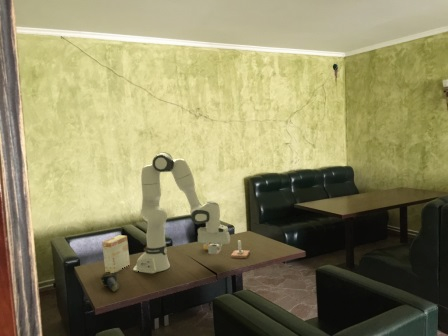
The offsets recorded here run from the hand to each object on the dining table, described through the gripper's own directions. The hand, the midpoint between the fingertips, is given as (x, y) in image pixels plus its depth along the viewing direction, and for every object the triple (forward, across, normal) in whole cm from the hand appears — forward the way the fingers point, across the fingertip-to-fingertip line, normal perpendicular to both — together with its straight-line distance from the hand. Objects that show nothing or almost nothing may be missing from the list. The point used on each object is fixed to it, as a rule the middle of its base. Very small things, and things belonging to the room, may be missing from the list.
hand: (214, 249), depth 228 cm
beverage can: (+12, -45, -42) cm, 63 cm away
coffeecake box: (+11, -59, -16) cm, 62 cm away
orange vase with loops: (+8, -13, +27) cm, 31 cm away
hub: (+2, 0, 0) cm, 2 cm away
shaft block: (+7, +13, +15) cm, 21 cm away
